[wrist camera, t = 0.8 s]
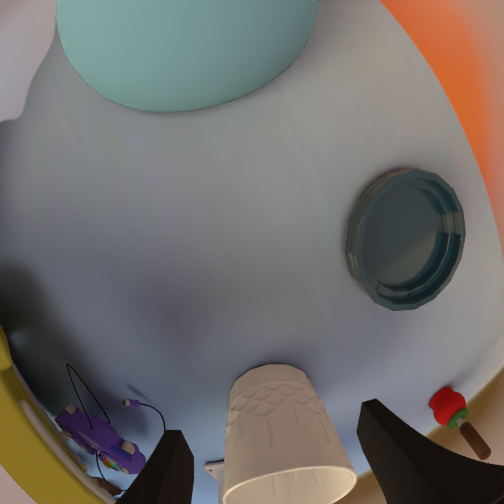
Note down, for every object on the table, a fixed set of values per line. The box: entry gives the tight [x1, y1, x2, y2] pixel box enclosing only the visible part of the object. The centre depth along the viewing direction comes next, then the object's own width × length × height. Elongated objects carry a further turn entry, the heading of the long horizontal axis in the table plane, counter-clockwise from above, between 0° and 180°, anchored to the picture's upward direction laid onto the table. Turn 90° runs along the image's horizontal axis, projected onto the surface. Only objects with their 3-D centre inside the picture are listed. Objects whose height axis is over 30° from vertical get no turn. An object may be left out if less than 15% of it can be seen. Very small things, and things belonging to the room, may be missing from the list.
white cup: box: [223, 364, 357, 504], centre depth 16 cm, size 8×8×10 cm
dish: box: [346, 169, 466, 311], centre depth 18 cm, size 10×10×2 cm
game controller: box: [55, 364, 165, 491], centre depth 19 cm, size 10×8×10 cm
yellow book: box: [0, 324, 116, 504], centre depth 14 cm, size 16×21×5 cm
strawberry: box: [430, 387, 491, 460], centre depth 19 cm, size 4×4×11 cm
